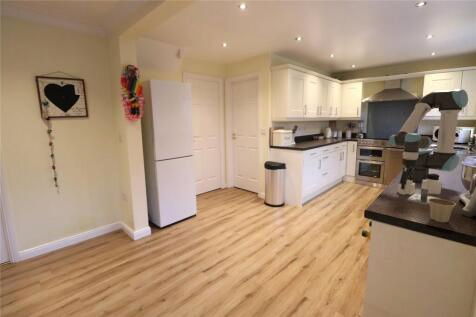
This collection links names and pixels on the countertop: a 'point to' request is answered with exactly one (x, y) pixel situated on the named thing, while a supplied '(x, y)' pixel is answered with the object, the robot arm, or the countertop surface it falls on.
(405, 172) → the robot arm
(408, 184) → the cream cube
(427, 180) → the medicine bottle
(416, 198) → the hub plate
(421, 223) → the countertop surface
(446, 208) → the flower pot
